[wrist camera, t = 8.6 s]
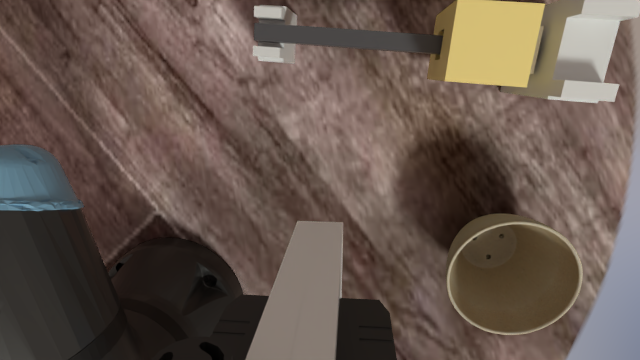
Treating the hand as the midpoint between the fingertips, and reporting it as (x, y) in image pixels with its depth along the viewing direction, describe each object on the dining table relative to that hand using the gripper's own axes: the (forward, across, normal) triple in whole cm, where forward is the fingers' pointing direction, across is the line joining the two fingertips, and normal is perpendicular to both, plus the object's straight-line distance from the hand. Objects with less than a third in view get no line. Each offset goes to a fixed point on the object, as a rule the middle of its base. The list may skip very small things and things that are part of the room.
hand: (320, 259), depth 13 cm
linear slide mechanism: (+24, +5, +8) cm, 25 cm away
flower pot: (+24, +14, -10) cm, 29 cm away
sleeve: (+21, +10, +8) cm, 25 cm away
